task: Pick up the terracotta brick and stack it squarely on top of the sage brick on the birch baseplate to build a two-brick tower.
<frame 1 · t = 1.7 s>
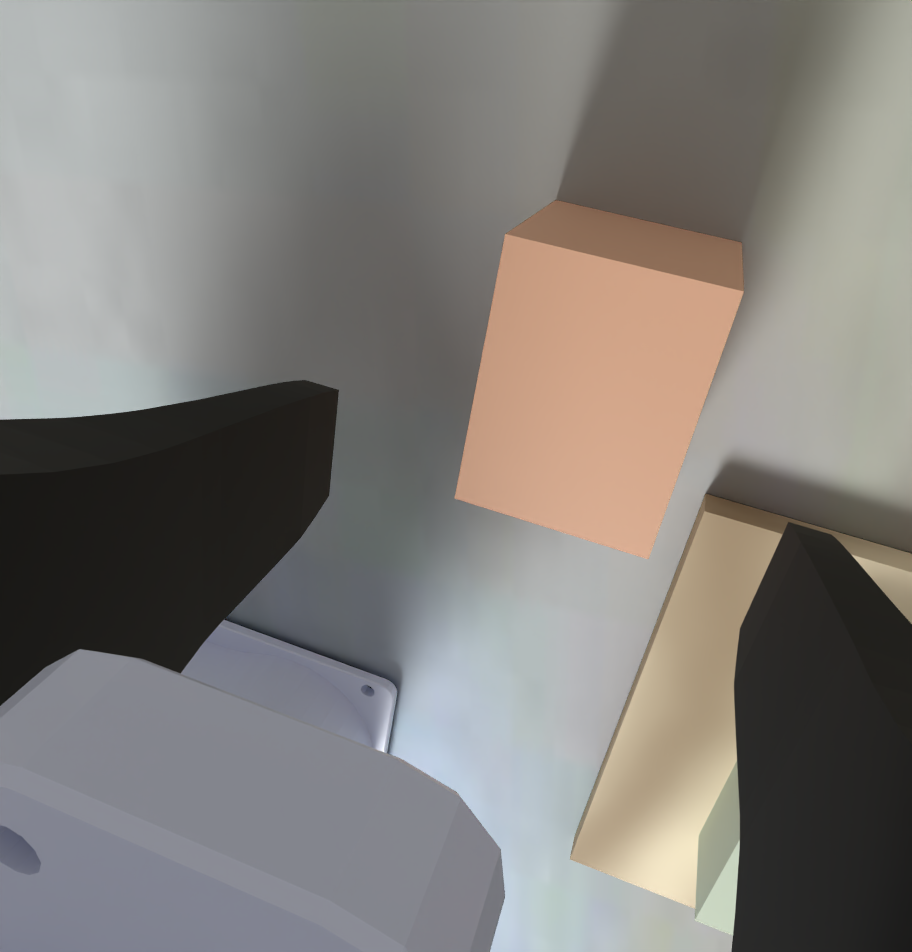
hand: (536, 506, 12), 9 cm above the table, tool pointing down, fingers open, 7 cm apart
baseplate: (874, 775, 23), on the table
terracotta brick: (614, 338, 20), on the table
sage brick: (879, 801, 22), point 1 cm above the table, touching baseplate
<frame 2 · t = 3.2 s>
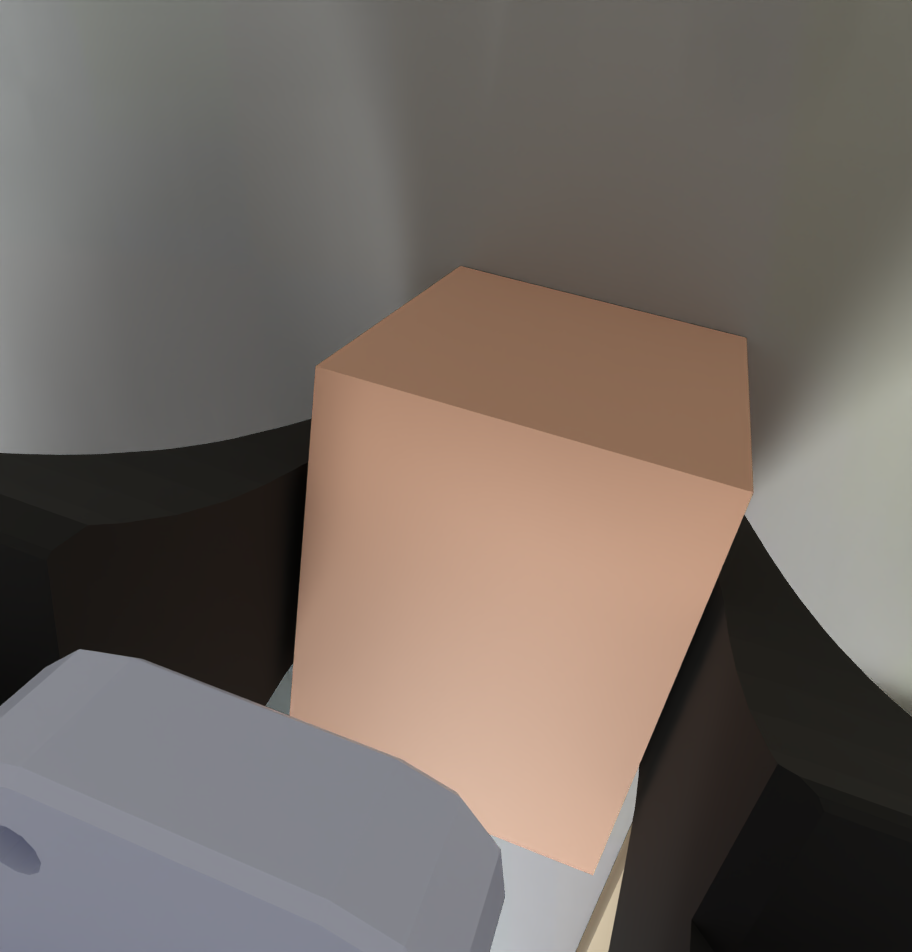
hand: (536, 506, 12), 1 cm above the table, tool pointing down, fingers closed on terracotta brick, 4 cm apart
terracotta brick: (554, 468, 13), on the table, touching gripper
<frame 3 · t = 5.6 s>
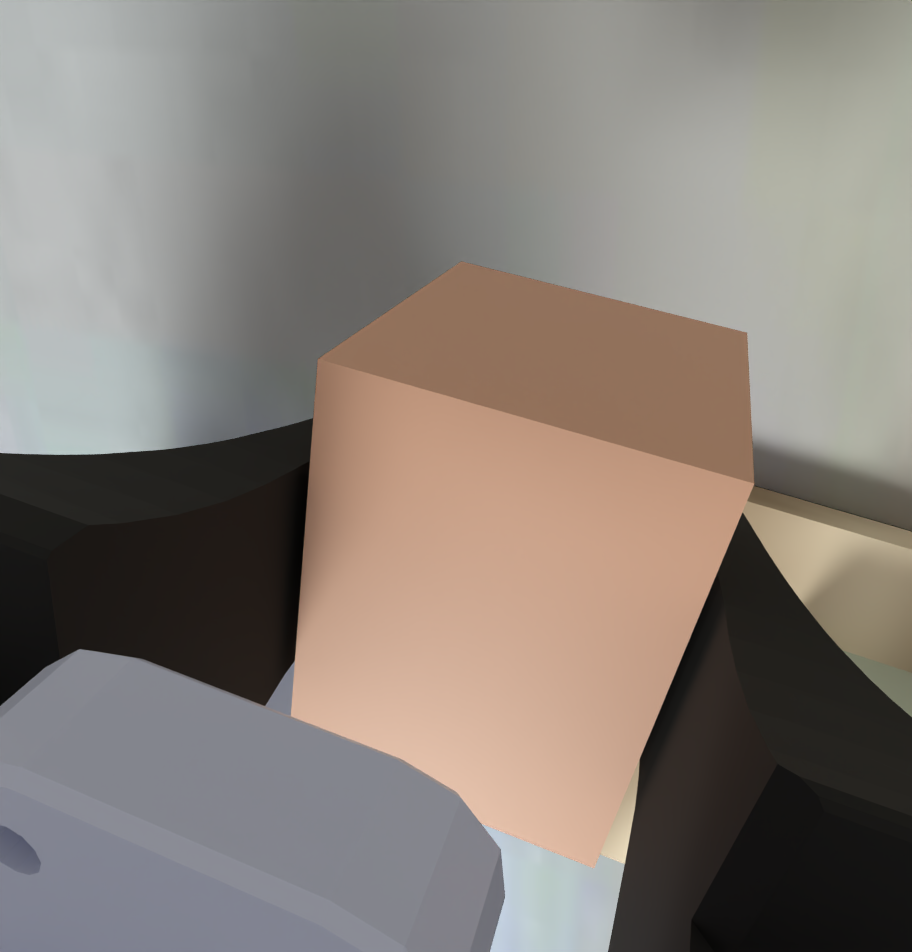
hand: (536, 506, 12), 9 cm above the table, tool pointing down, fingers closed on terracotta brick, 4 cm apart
baseplate: (863, 752, 23), on the table
terracotta brick: (555, 463, 13), point 8 cm above the table, touching gripper
sage brick: (868, 778, 22), point 1 cm above the table, touching baseplate
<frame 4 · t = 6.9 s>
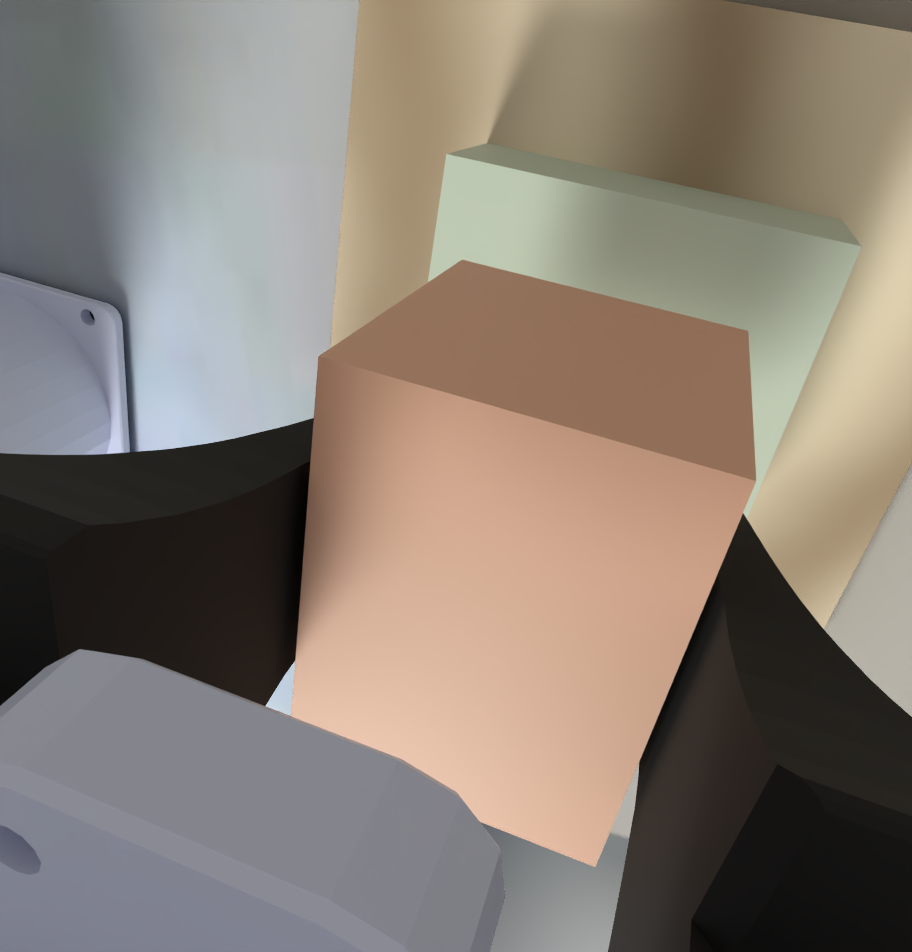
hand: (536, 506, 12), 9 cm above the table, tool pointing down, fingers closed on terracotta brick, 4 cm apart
baseplate: (615, 336, 20), on the table
terracotta brick: (556, 462, 13), point 8 cm above the table, touching gripper
sage brick: (610, 347, 19), point 1 cm above the table, touching baseplate
when the fingers open (6 cm above the table, at t = 8.2 s): terracotta brick stays where it is, resting on sage brick.
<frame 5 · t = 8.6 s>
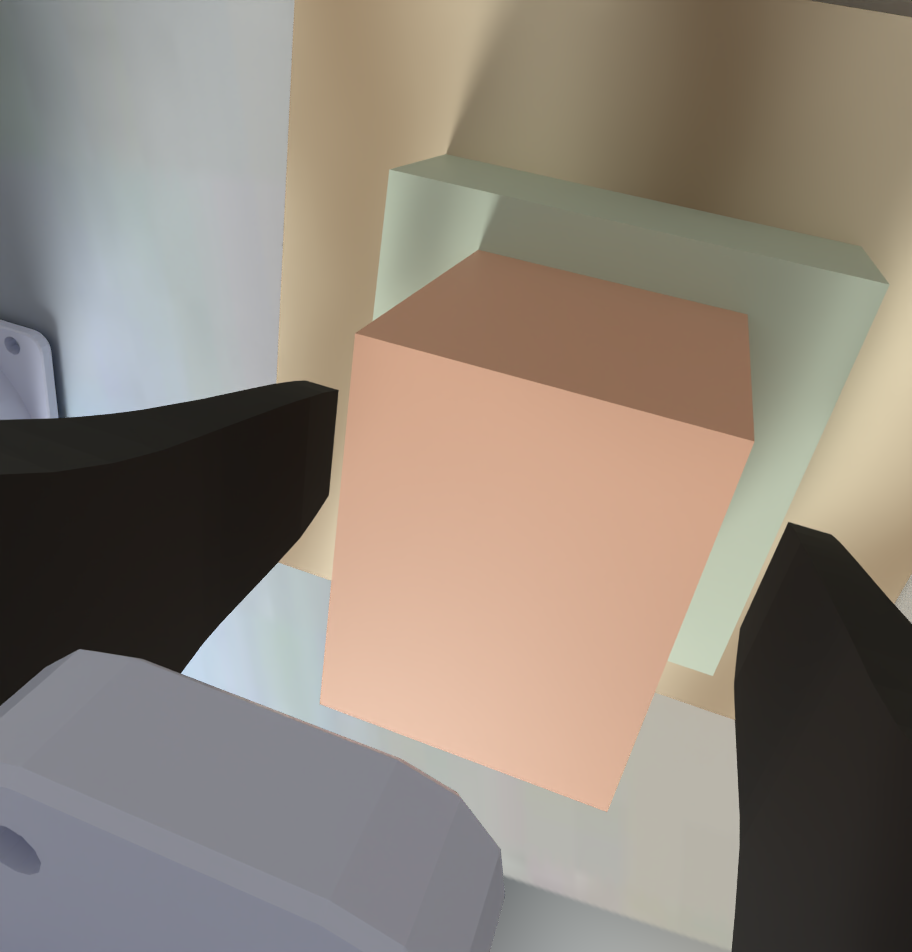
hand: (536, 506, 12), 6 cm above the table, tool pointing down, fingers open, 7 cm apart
baseplate: (597, 373, 18), on the table
terracotta brick: (566, 441, 14), point 4 cm above the table, touching sage brick
sage brick: (591, 388, 17), point 1 cm above the table, touching baseplate, terracotta brick
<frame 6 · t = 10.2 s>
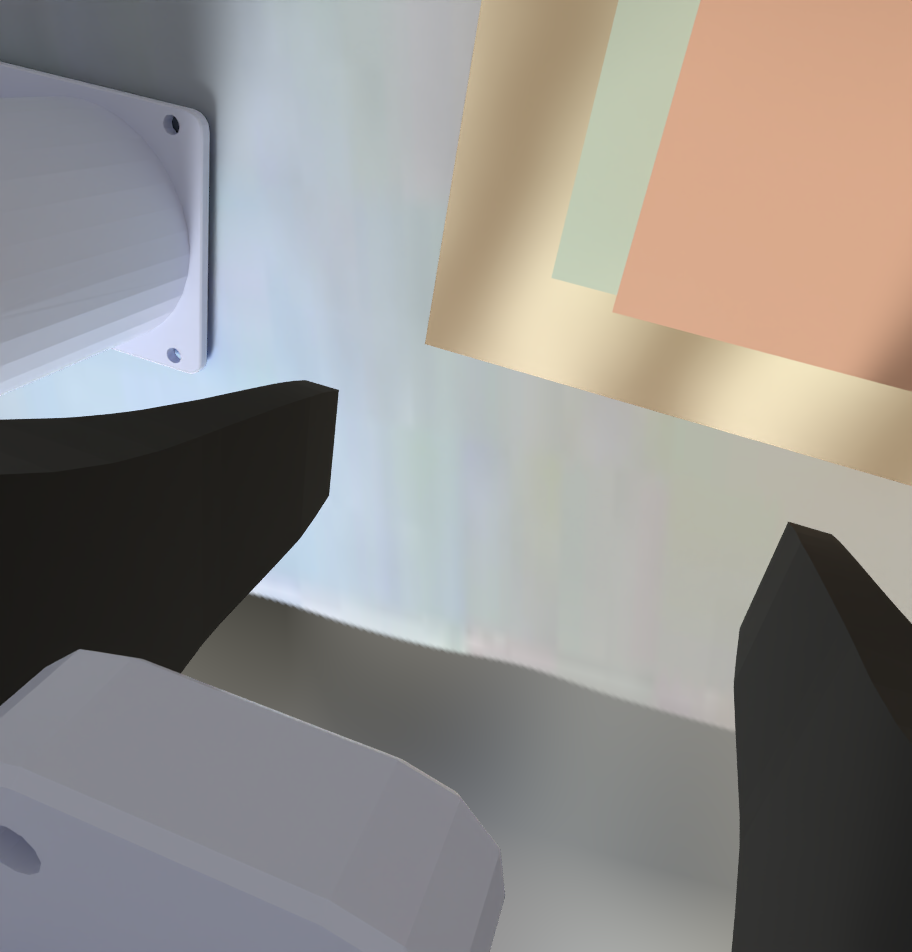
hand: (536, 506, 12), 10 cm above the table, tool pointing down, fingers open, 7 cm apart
baseplate: (798, 111, 17), on the table
terracotta brick: (815, 115, 14), point 4 cm above the table, touching sage brick
sage brick: (801, 113, 17), point 1 cm above the table, touching baseplate, terracotta brick
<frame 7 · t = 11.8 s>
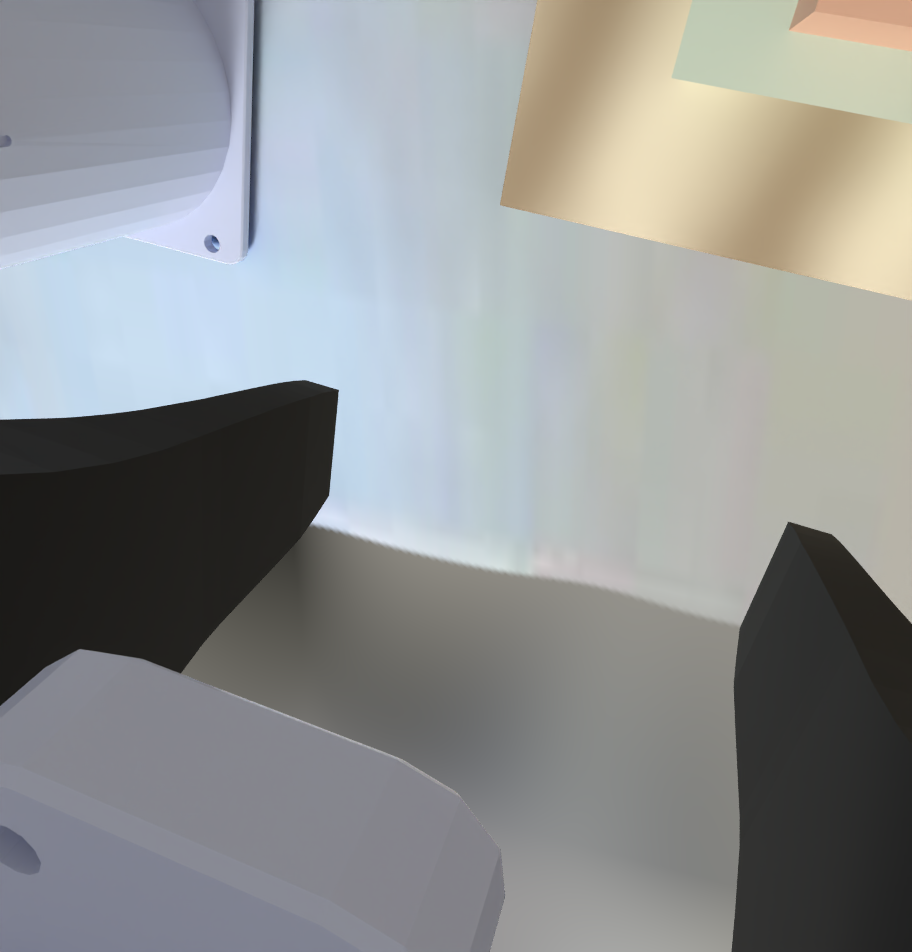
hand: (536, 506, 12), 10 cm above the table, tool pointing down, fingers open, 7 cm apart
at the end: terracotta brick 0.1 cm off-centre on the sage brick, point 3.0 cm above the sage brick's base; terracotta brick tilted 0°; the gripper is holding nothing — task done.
